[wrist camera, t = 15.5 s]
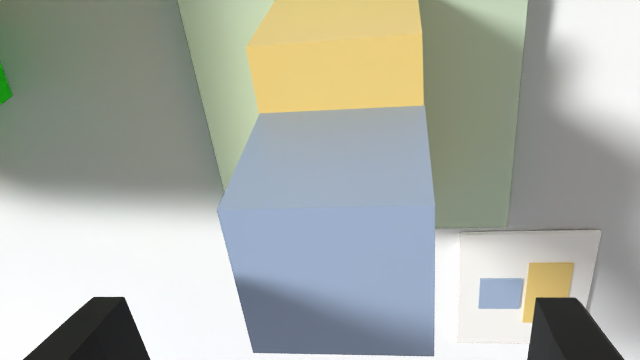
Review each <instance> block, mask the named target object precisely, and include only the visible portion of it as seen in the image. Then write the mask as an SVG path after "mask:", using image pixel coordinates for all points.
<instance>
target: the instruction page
mask: <svg viewBox="0 0 640 360" xmlns="http://www.w3.org/2000/svg"><path fill="white" fill-rule="evenodd" d="M601 234H602V233H601V231H600V230H555V231H495V232H460V257H459V287H458V317H457V343H505V344H530V337H531V330H532V322H533V315H534V308H535V301H536V297H575V298H577V299H578V300H579V301H580V302H581V303H582V304H583V306H584V307H585V308H586V306H587V301H588V296H589V292H590V287H591V282H592V277H593V272H594V268H595V263H596V258H597V253H598V248H599V244H600V239H601Z"/></svg>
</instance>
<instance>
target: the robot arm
mask: <svg viewBox="0 0 640 360" xmlns="http://www.w3.org/2000/svg"><path fill="white" fill-rule="evenodd" d="M23 360H150V358H149V356H148V353H147V351H146V348H145V346H144V343H143V341H142V339H141V336H140V334H139V331H138V329H137V327H136V324H135V322H134V319H133V317H132V314H131V312H130V310H129V307H128V305H127V302H126V300H125V298H124V297H93V298H92V299H91V300H90V301H88V302H87V303H86V304H85V305H84V306H82V307H81V308H80V309H79V310H78V311H77V312H75V313H74V314H73V315H72V316H71V317H70V318H69V319H68V320H66V321H65V322H64V323H63V324H62V325H61V326H60V327H59V328H58V329H56V330H55V331H54V332H53V333H52V334H51V335H50V336H49V337H48V338H47V339H45V340H44V341H43V342H42V343H41V344H40V345H39V346H38V347H37V348H36V349H34V350H33V351H32V352H31V353H30V354H29V355H28V356H27V357H25V358H24V359H23ZM527 360H624V359H623V357H622V356H621V355H620V353H619V352H618V351H617V350H616V348H615V347H614V346H613V344H612V343H611V342H610V341H609V339H608V338H607V337H606V335H605V334H604V333H603V331H602V330H601V329H600V327H599V326H598V325H597V323H596V322H595V321H594V319H593V318H592V317H591V315H590V314H589V313H588V311H587V310H586V308H585V307H584V306H583V304H582V303H581V302H580V301H579V300H578V299H577V298H575V297H536V301H535V308H534V315H533V322H532V330H531V337H530V344H529V351H528V359H527Z"/></svg>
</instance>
